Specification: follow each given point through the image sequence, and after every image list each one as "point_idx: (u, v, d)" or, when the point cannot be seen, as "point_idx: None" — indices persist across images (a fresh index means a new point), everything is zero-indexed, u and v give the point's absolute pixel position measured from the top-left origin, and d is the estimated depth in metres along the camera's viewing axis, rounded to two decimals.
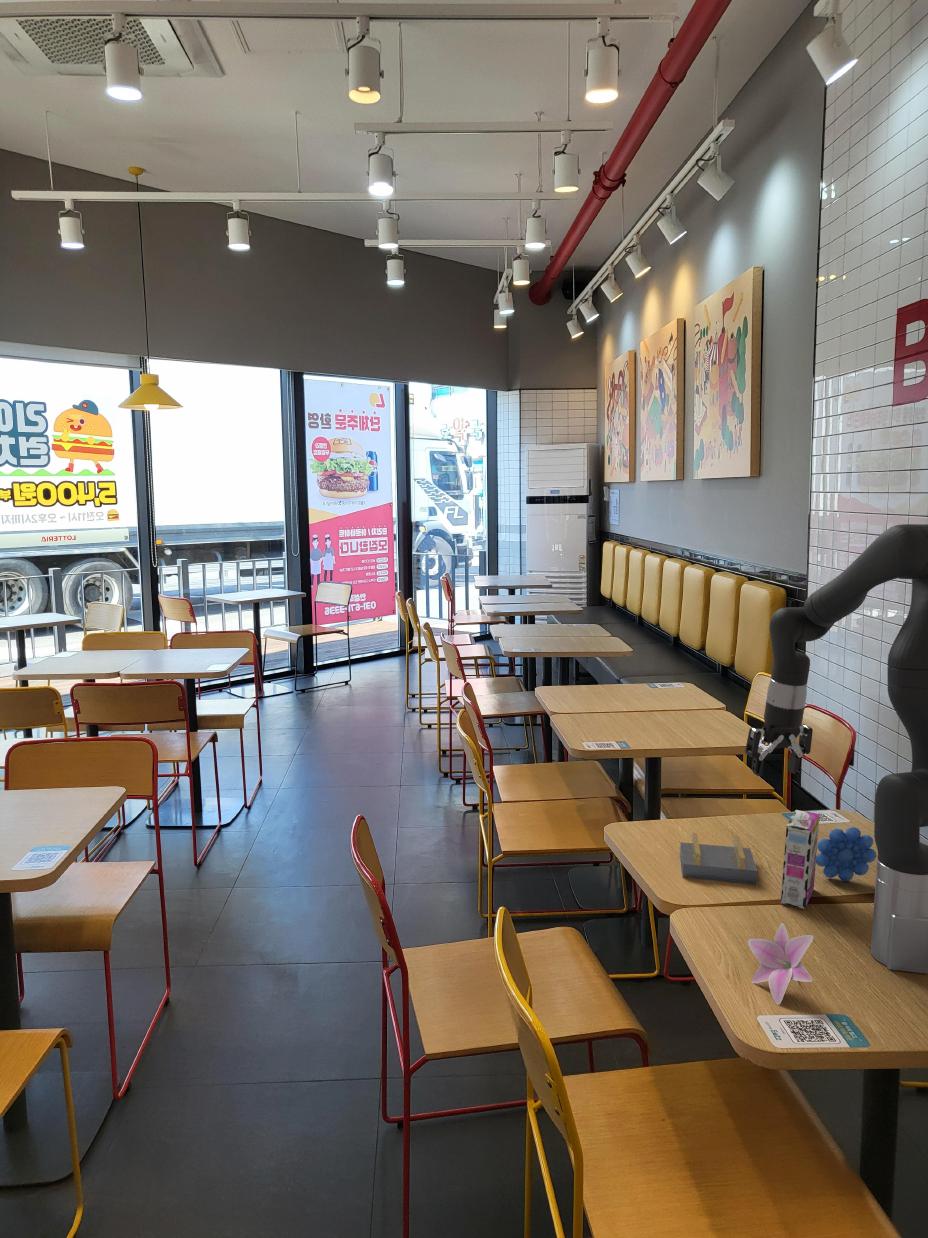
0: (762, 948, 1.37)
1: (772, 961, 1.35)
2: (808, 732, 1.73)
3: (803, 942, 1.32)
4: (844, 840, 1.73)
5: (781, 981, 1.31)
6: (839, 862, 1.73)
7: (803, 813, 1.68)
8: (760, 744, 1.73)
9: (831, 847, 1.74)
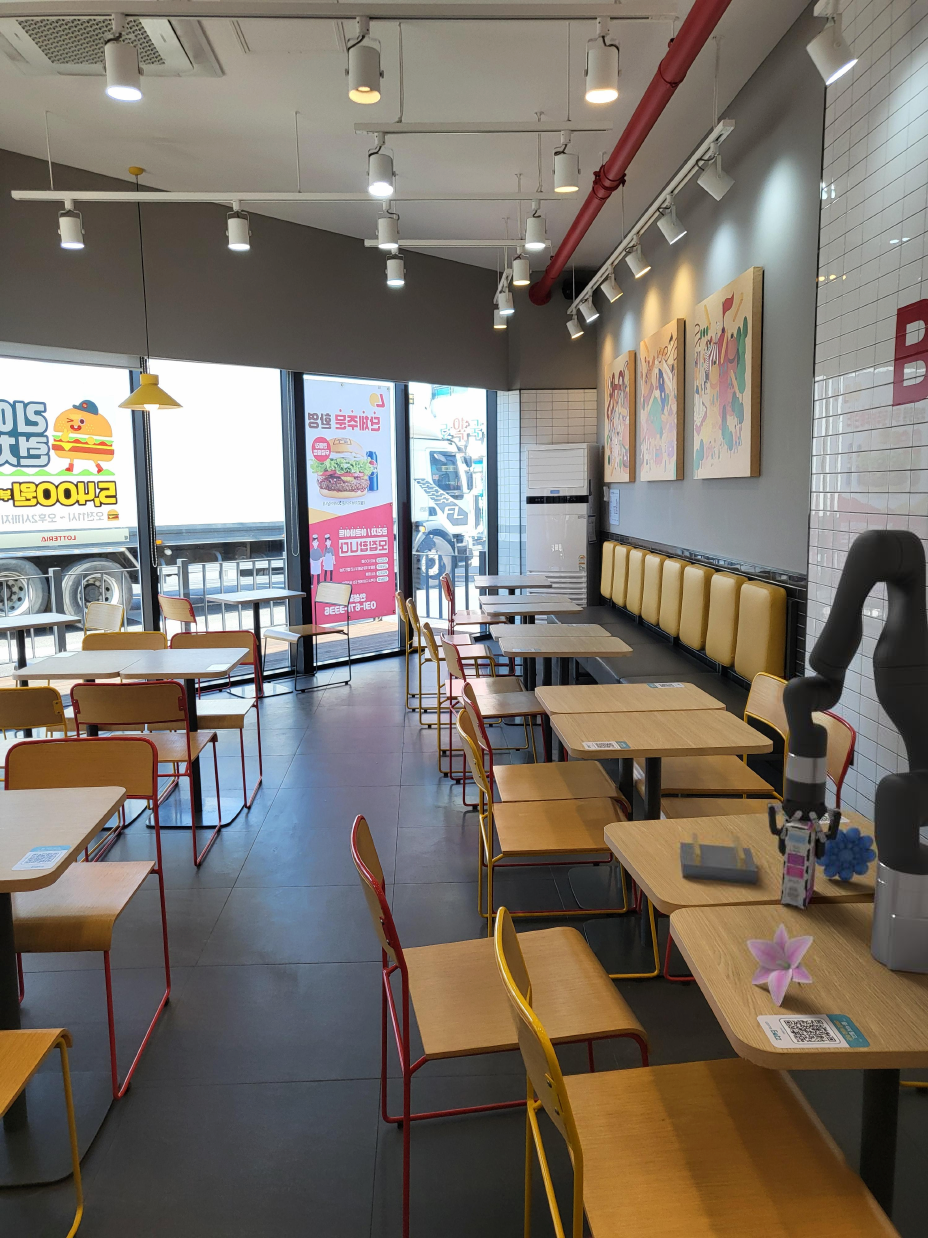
0: (761, 949, 1.37)
1: (772, 962, 1.35)
2: (835, 816, 1.62)
3: (802, 943, 1.32)
4: (844, 840, 1.73)
5: (781, 982, 1.31)
6: (839, 862, 1.73)
7: None
8: (784, 822, 1.66)
9: (831, 847, 1.74)
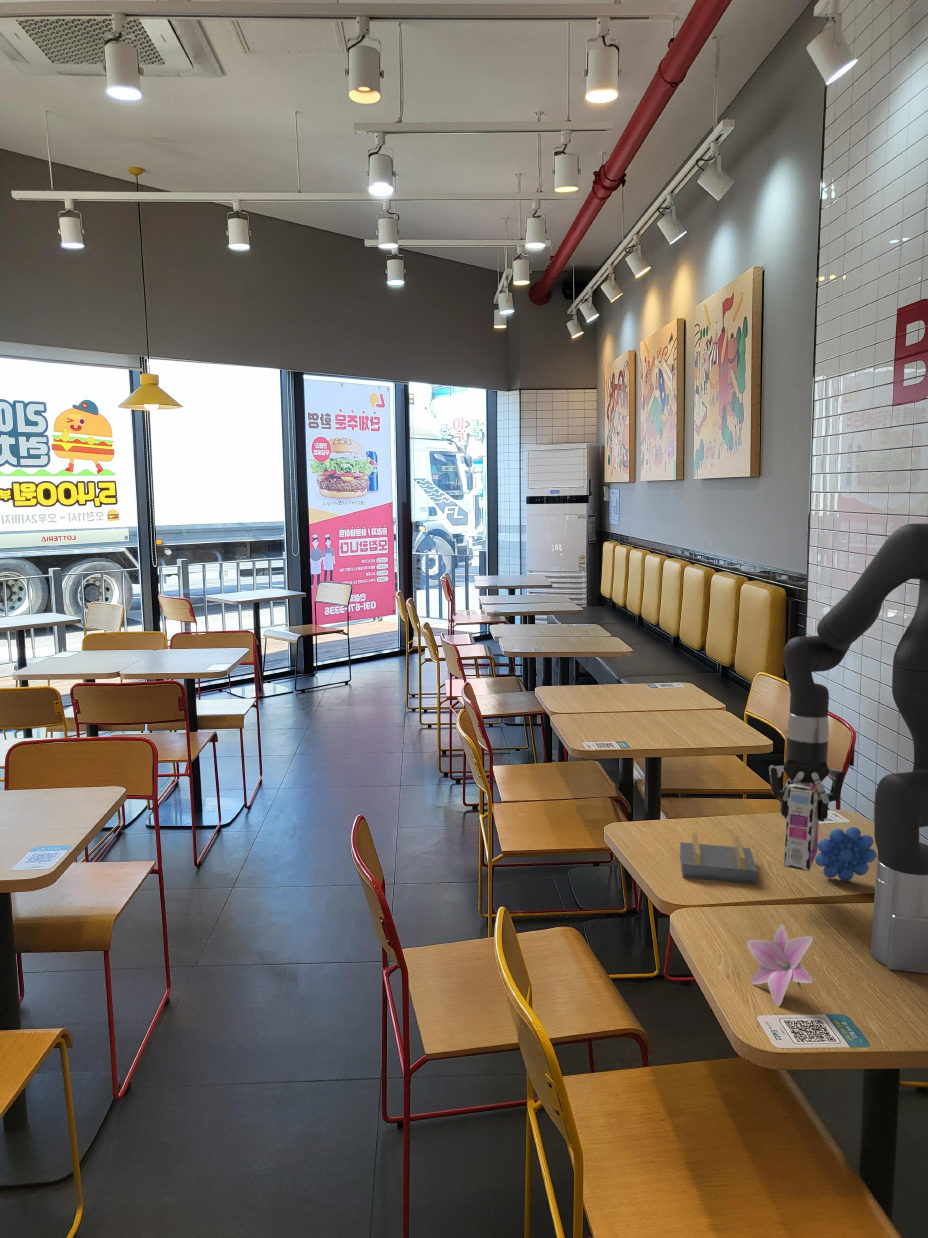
0: (761, 949, 1.37)
1: (771, 962, 1.35)
2: (838, 776, 1.61)
3: (802, 943, 1.32)
4: (844, 840, 1.73)
5: (781, 982, 1.31)
6: (839, 862, 1.73)
7: None
8: (786, 784, 1.65)
9: (831, 847, 1.74)
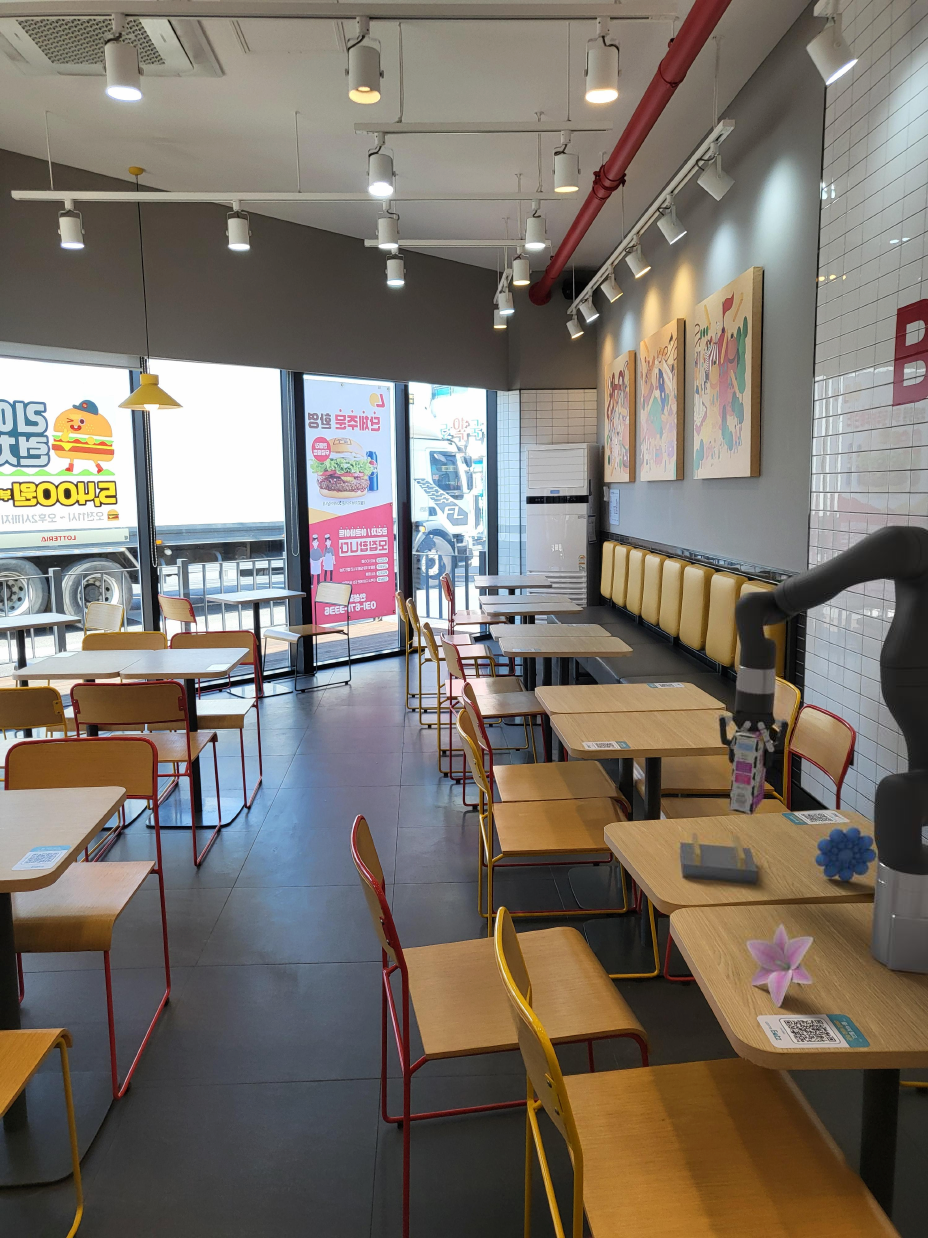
0: (761, 949, 1.37)
1: (771, 963, 1.35)
2: (783, 726, 1.69)
3: (802, 943, 1.31)
4: (844, 840, 1.73)
5: (781, 982, 1.31)
6: (839, 862, 1.73)
7: None
8: (734, 733, 1.73)
9: (831, 847, 1.74)
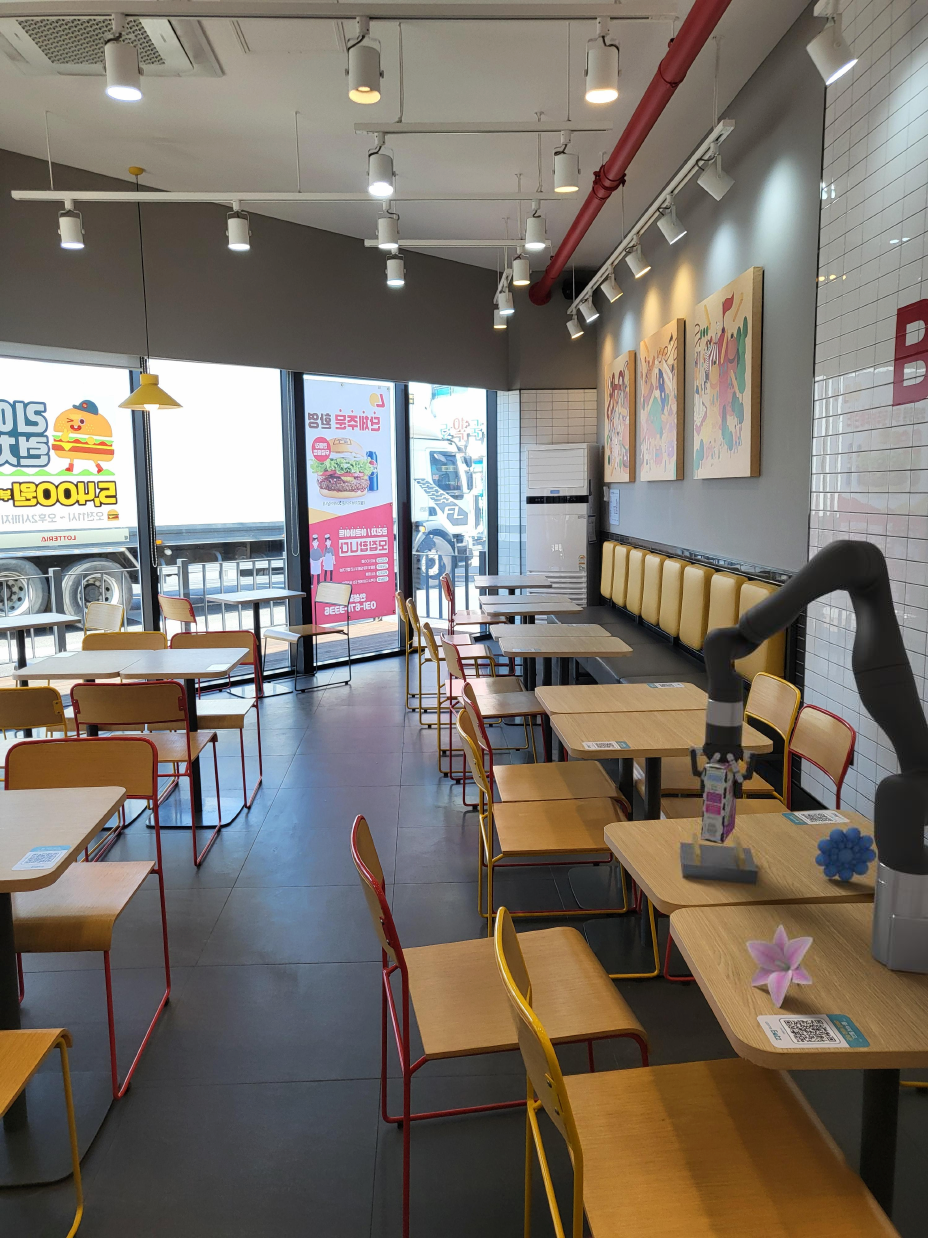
0: (761, 950, 1.36)
1: (771, 963, 1.35)
2: (751, 757, 1.74)
3: (802, 944, 1.31)
4: (844, 840, 1.73)
5: (781, 983, 1.31)
6: (839, 862, 1.73)
7: None
8: (705, 764, 1.78)
9: (831, 847, 1.74)
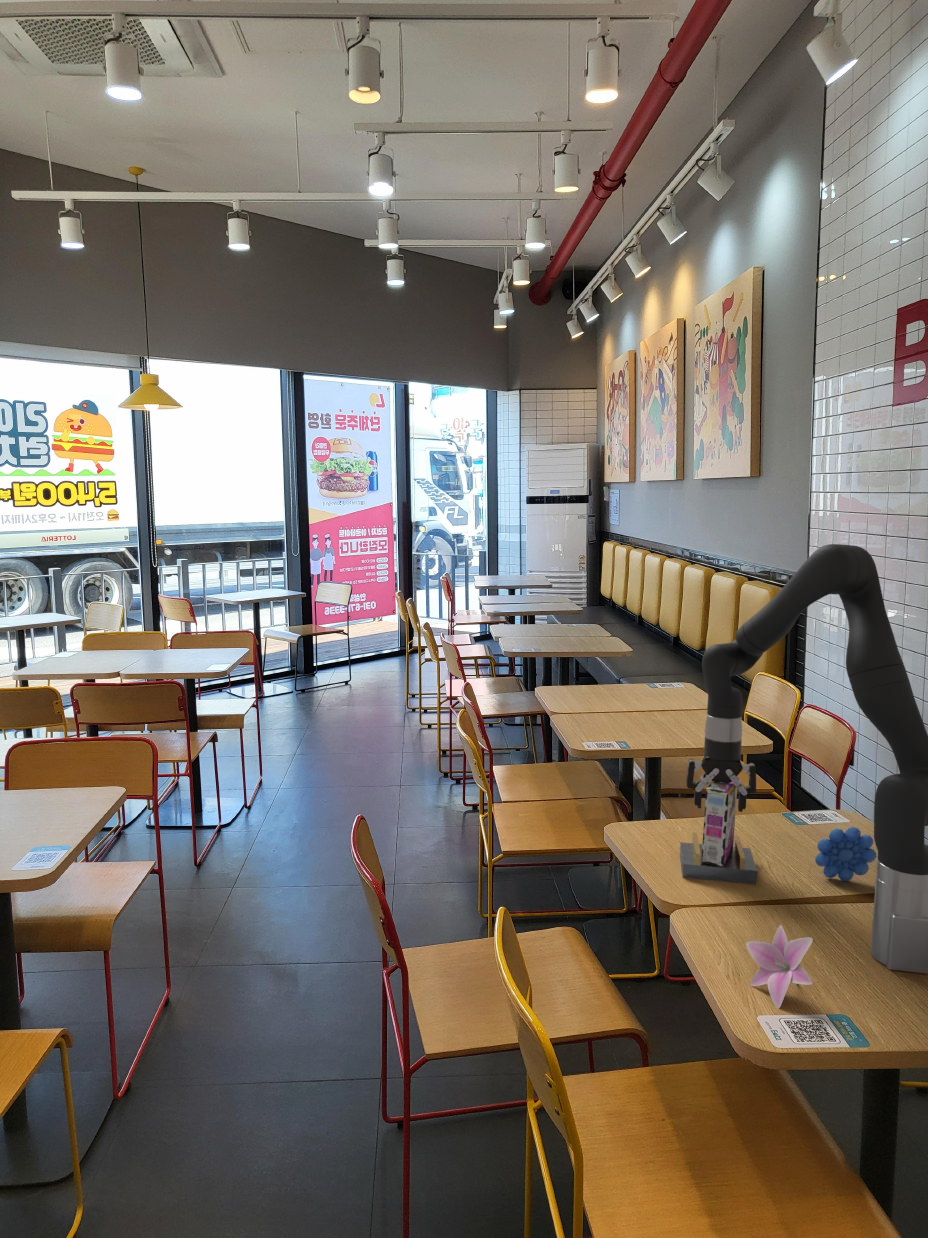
0: (760, 950, 1.36)
1: (771, 964, 1.34)
2: (751, 770, 1.74)
3: (802, 944, 1.31)
4: (844, 840, 1.73)
5: (781, 984, 1.31)
6: (839, 862, 1.73)
7: None
8: (701, 777, 1.78)
9: (831, 847, 1.74)
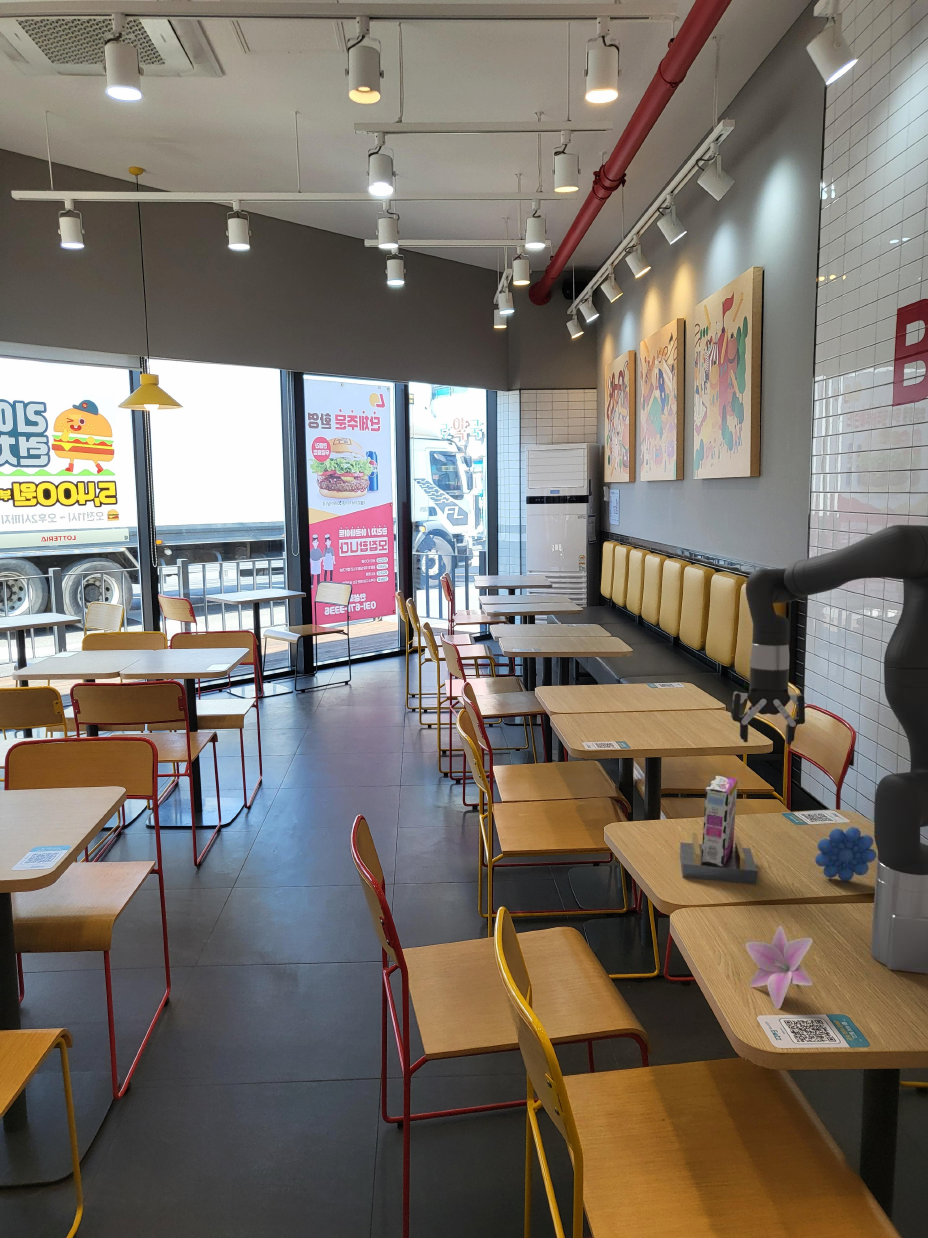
0: (760, 951, 1.36)
1: (771, 964, 1.34)
2: (799, 700, 1.69)
3: (802, 945, 1.31)
4: (844, 840, 1.73)
5: (781, 984, 1.30)
6: (839, 862, 1.73)
7: (722, 778, 1.80)
8: (747, 710, 1.73)
9: (831, 847, 1.74)
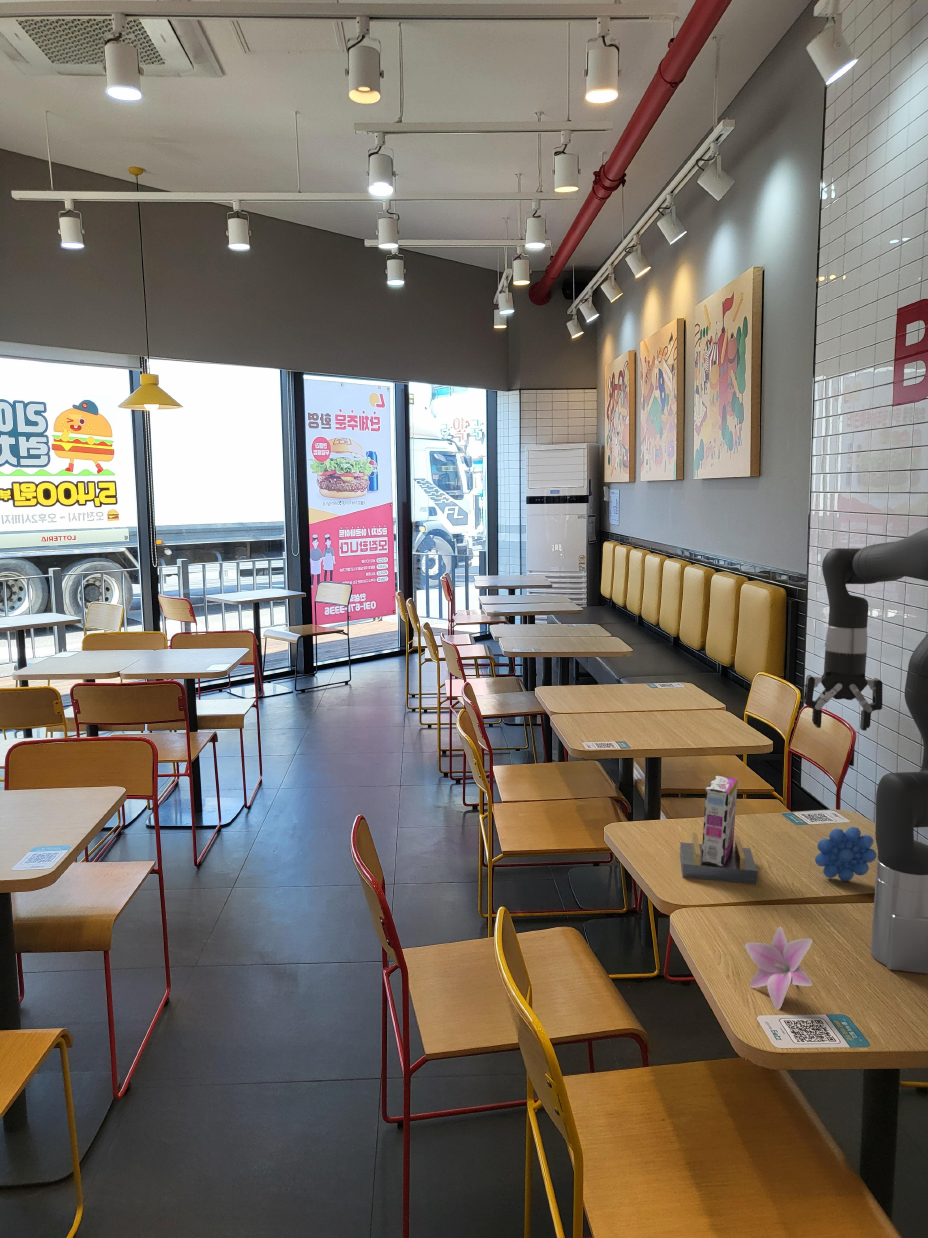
0: (760, 952, 1.36)
1: (770, 965, 1.34)
2: (877, 685, 1.62)
3: (801, 945, 1.31)
4: (844, 840, 1.73)
5: (781, 985, 1.30)
6: (839, 862, 1.73)
7: (722, 778, 1.80)
8: (821, 694, 1.67)
9: (831, 847, 1.74)
